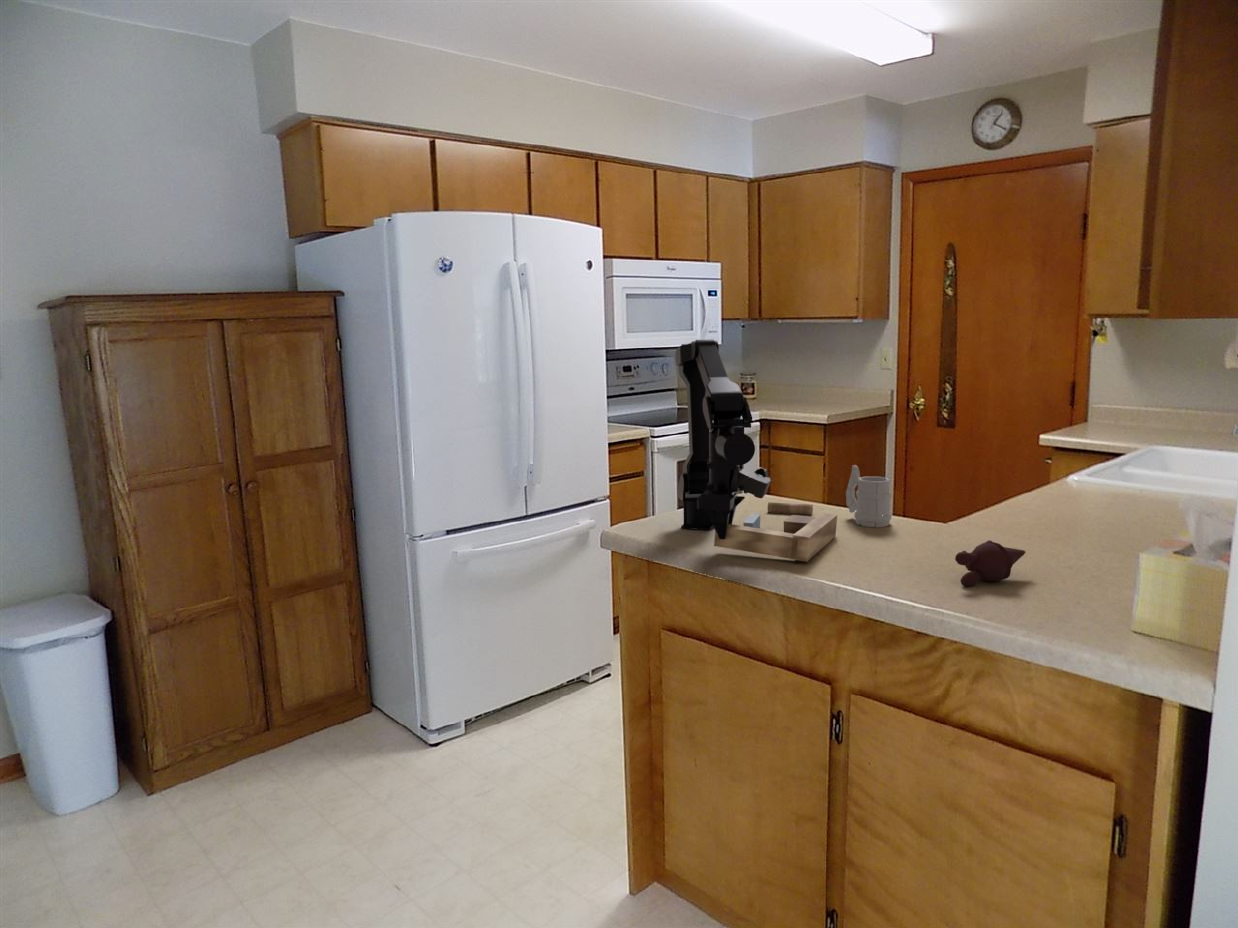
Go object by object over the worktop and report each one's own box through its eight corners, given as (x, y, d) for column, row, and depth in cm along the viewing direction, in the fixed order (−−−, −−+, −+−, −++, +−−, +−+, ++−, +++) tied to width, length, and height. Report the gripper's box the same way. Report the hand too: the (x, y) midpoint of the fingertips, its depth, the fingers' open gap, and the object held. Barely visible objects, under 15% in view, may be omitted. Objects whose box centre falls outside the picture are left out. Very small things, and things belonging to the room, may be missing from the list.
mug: (872, 529, 171) (874, 473, 169) (833, 518, 182) (835, 465, 180) (898, 524, 174) (900, 470, 172) (859, 514, 185) (861, 462, 183)
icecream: (1002, 532, 143) (938, 550, 137) (1038, 531, 136) (971, 550, 130) (1011, 570, 142) (946, 591, 137) (1047, 571, 135) (981, 592, 130)
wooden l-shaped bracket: (714, 545, 155) (715, 522, 154) (751, 523, 175) (752, 502, 174) (807, 561, 147) (809, 537, 146) (835, 536, 166) (837, 514, 166)
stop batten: (743, 536, 168) (743, 522, 167) (751, 527, 175) (751, 513, 174) (753, 537, 167) (753, 523, 166) (760, 528, 174) (760, 514, 174)
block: (783, 540, 165) (783, 521, 164) (791, 533, 170) (791, 514, 169) (812, 543, 162) (813, 523, 161) (820, 536, 167) (820, 517, 167)
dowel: (769, 513, 190) (767, 511, 188) (769, 503, 190) (768, 501, 188) (812, 516, 186) (811, 514, 184) (813, 505, 187) (812, 503, 185)
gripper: (757, 466, 141) (757, 553, 144) (775, 450, 158) (774, 527, 161) (695, 464, 145) (696, 548, 148) (720, 448, 162) (720, 524, 165)
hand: (724, 536), depth 155 cm, fingers closed on wooden l-shaped bracket, 3 cm apart
